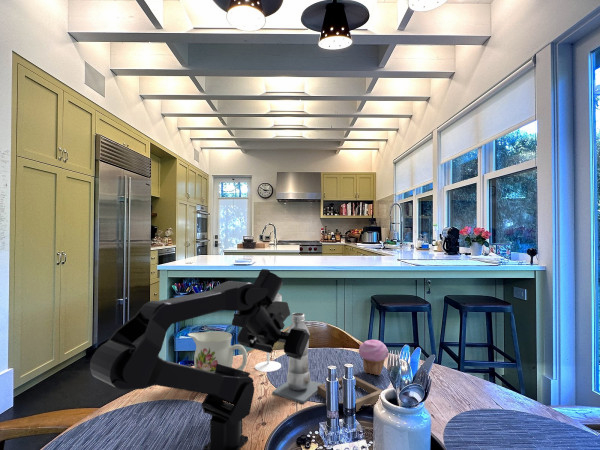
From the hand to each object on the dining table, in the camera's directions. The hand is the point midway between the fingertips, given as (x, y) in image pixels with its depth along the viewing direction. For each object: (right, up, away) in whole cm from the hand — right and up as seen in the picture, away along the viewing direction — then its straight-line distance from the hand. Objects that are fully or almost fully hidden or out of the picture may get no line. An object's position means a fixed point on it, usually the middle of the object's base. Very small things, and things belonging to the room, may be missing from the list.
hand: (285, 354), depth 81 cm
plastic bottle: (+3, -11, +5) cm, 13 cm away
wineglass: (-7, -13, +21) cm, 26 cm away
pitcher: (-21, -13, +10) cm, 26 cm away
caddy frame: (+17, -11, +1) cm, 21 cm away
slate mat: (+3, -12, +5) cm, 13 cm away
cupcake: (+27, -12, +15) cm, 33 cm away
